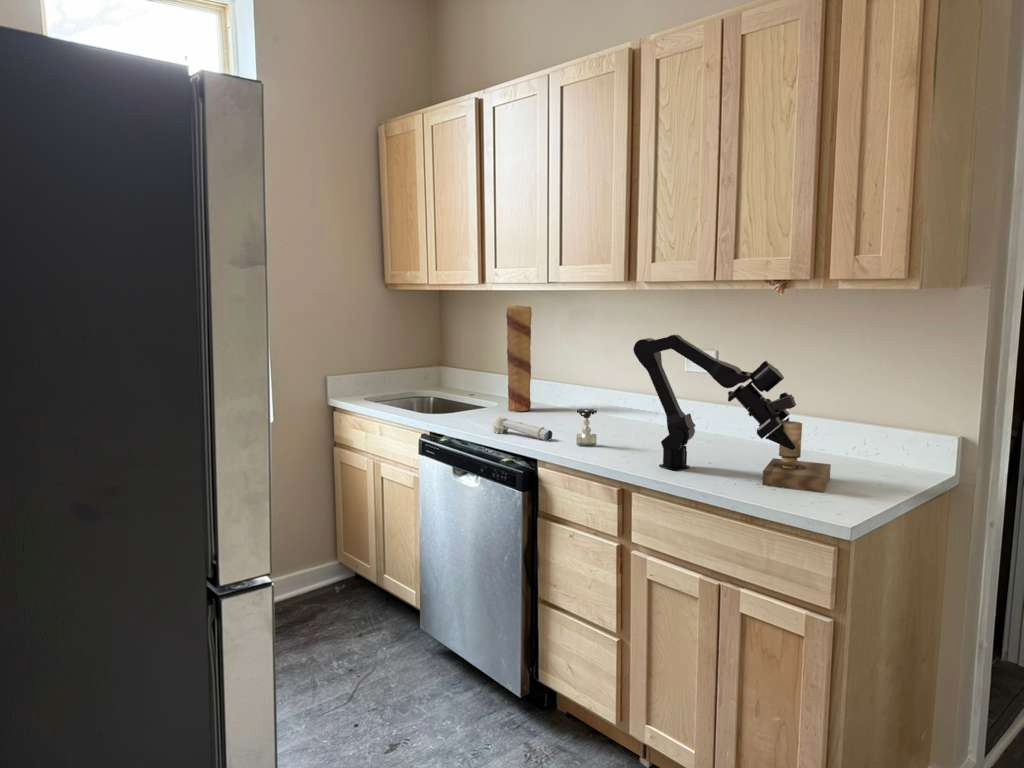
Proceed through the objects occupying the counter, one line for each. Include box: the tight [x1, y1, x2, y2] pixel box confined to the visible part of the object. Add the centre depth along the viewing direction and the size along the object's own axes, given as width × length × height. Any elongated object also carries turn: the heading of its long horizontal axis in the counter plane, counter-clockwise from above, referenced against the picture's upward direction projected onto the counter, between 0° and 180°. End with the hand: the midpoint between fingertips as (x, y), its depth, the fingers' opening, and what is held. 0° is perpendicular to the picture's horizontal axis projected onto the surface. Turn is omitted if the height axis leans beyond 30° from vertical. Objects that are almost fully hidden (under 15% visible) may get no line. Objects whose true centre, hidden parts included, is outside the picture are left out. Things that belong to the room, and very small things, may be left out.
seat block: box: [761, 457, 832, 493], centre depth 194 cm, size 15×16×4 cm
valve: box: [575, 407, 598, 446], centre depth 240 cm, size 7×7×12 cm
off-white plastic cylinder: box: [492, 415, 553, 441], centre depth 256 cm, size 5×7×25 cm
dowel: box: [778, 420, 803, 469], centre depth 194 cm, size 5×5×13 cm
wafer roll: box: [505, 305, 533, 413], centre depth 309 cm, size 10×11×45 cm
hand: (795, 447), depth 193 cm, fingers closed on dowel, 5 cm apart
